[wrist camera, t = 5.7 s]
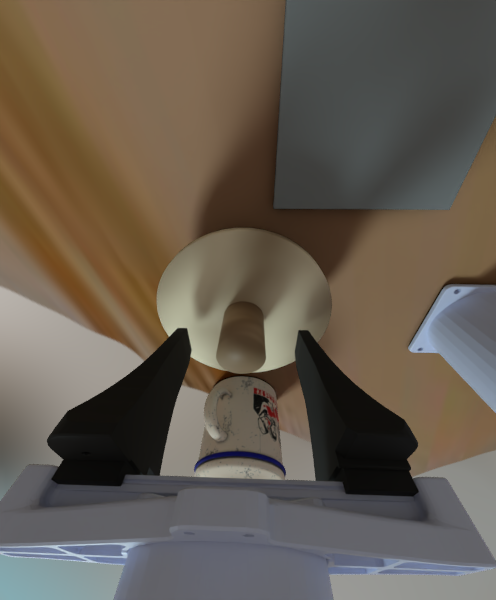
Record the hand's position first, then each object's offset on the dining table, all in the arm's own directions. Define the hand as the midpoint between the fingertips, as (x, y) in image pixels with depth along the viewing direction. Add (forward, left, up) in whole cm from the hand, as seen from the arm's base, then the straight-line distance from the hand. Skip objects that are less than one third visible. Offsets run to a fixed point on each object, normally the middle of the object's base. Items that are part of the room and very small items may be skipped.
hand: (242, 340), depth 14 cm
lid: (0, -1, -2) cm, 2 cm away
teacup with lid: (+1, +15, -7) cm, 16 cm away
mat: (-8, -13, -6) cm, 17 cm away
